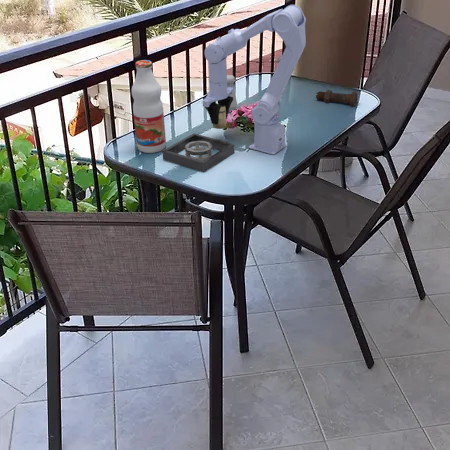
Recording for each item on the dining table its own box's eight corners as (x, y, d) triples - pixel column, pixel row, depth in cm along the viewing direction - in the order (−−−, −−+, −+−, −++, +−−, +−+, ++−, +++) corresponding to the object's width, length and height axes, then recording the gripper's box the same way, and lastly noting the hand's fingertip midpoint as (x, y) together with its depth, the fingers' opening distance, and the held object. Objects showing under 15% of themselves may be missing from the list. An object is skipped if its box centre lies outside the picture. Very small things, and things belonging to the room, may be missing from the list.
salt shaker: (235, 113, 215) (235, 78, 208) (220, 112, 216) (219, 78, 209) (238, 107, 220) (238, 73, 213) (223, 107, 221) (222, 73, 214)
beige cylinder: (229, 125, 194) (228, 104, 190) (221, 130, 191) (220, 109, 187) (217, 122, 196) (217, 102, 193) (209, 127, 193) (208, 106, 189)
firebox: (234, 152, 187) (234, 142, 185) (204, 172, 176) (203, 162, 174) (194, 141, 195) (193, 132, 193) (163, 159, 184) (162, 149, 182)
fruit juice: (171, 143, 194) (164, 59, 179) (158, 155, 187) (150, 68, 172) (145, 139, 197) (137, 56, 182) (132, 151, 190) (121, 65, 175)
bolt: (317, 104, 227) (355, 108, 221) (313, 101, 222) (353, 105, 216) (320, 89, 226) (358, 92, 220) (316, 86, 222) (356, 90, 216)
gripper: (220, 72, 192) (222, 111, 200) (193, 85, 182) (196, 126, 190) (238, 75, 189) (239, 115, 196) (212, 88, 179) (213, 130, 186)
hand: (219, 121), depth 193 cm, fingers closed on beige cylinder, 4 cm apart
